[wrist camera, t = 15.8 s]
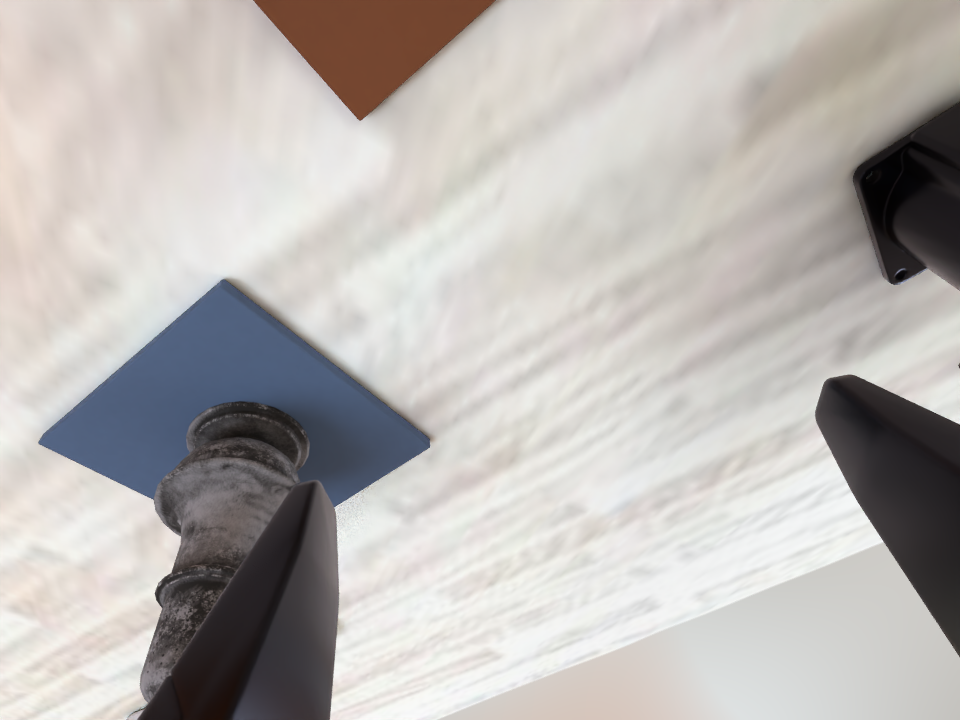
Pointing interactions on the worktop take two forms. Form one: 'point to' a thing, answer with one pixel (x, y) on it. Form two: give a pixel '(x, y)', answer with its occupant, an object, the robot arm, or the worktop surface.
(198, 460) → the grey chess piece
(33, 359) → the worktop surface
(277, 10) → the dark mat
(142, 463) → the blue mat
